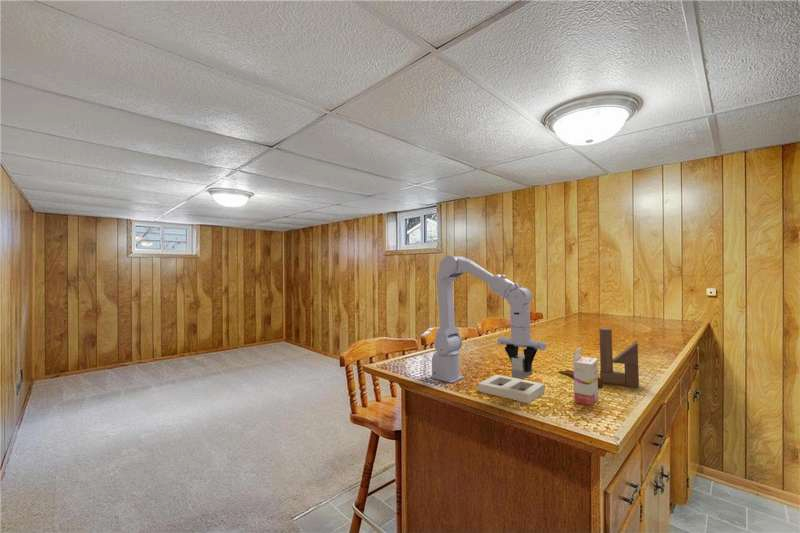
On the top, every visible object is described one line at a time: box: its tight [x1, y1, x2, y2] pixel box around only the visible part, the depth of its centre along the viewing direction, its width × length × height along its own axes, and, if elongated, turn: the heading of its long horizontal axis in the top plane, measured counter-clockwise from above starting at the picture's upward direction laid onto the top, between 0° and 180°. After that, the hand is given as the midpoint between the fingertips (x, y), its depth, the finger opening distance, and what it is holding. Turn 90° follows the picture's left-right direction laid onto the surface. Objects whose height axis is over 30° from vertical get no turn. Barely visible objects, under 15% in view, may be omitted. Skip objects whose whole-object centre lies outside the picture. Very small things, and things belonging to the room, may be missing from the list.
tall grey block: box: [510, 353, 533, 380], centre depth 109 cm, size 4×7×6 cm, turn 137°
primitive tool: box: [557, 369, 604, 389], centre depth 122 cm, size 19×6×4 cm, turn 11°
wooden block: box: [598, 327, 640, 388], centre depth 116 cm, size 4×11×18 cm, turn 61°
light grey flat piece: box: [477, 373, 546, 404], centre depth 111 cm, size 16×12×2 cm
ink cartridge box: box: [572, 346, 599, 407], centre depth 103 cm, size 9×5×15 cm, turn 141°
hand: (521, 370), depth 109 cm, fingers closed on tall grey block, 3 cm apart
